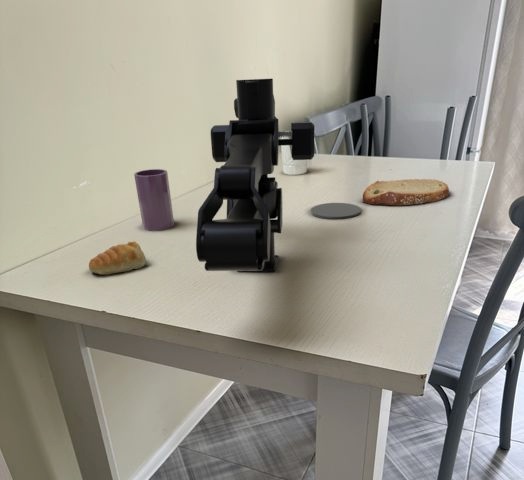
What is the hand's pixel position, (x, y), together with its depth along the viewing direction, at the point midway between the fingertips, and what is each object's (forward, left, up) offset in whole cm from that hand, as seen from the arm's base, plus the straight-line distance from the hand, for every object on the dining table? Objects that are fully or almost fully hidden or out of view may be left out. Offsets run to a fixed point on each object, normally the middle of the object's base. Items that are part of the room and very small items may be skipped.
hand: (266, 137), depth 100 cm
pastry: (-27, +22, -17) cm, 39 cm away
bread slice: (+19, -30, -17) cm, 39 cm away
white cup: (+47, -1, -17) cm, 50 cm away
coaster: (+7, -14, -16) cm, 22 cm away
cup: (-4, +24, -16) cm, 29 cm away
